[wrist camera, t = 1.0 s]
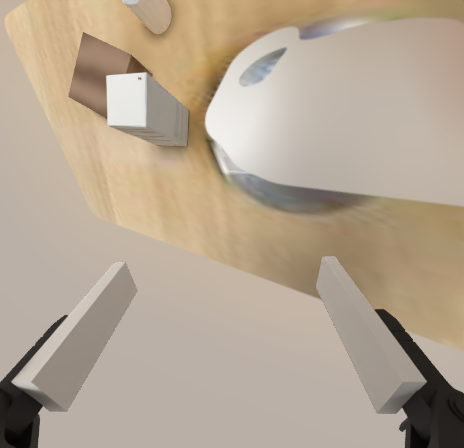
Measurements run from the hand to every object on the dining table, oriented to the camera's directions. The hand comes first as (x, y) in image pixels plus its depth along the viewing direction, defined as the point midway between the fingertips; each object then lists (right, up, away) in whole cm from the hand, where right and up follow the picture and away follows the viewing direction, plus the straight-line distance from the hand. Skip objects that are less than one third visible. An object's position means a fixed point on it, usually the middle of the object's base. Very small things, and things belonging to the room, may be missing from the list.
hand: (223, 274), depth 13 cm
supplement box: (-12, +24, +27) cm, 38 cm away
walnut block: (-24, +33, +29) cm, 50 cm away
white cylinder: (-14, +44, +24) cm, 53 cm away
